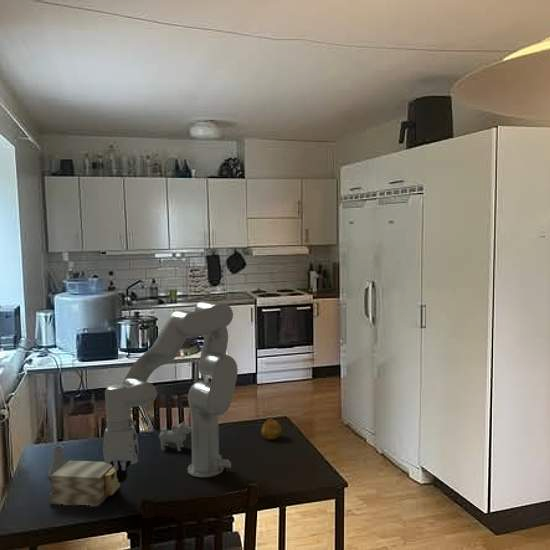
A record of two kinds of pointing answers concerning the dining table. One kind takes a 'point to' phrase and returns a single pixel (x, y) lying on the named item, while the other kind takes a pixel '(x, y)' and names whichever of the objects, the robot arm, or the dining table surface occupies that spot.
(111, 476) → the shaft
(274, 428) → the fruit
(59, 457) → the flask
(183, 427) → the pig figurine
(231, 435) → the dining table surface
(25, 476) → the dining table surface
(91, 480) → the block
